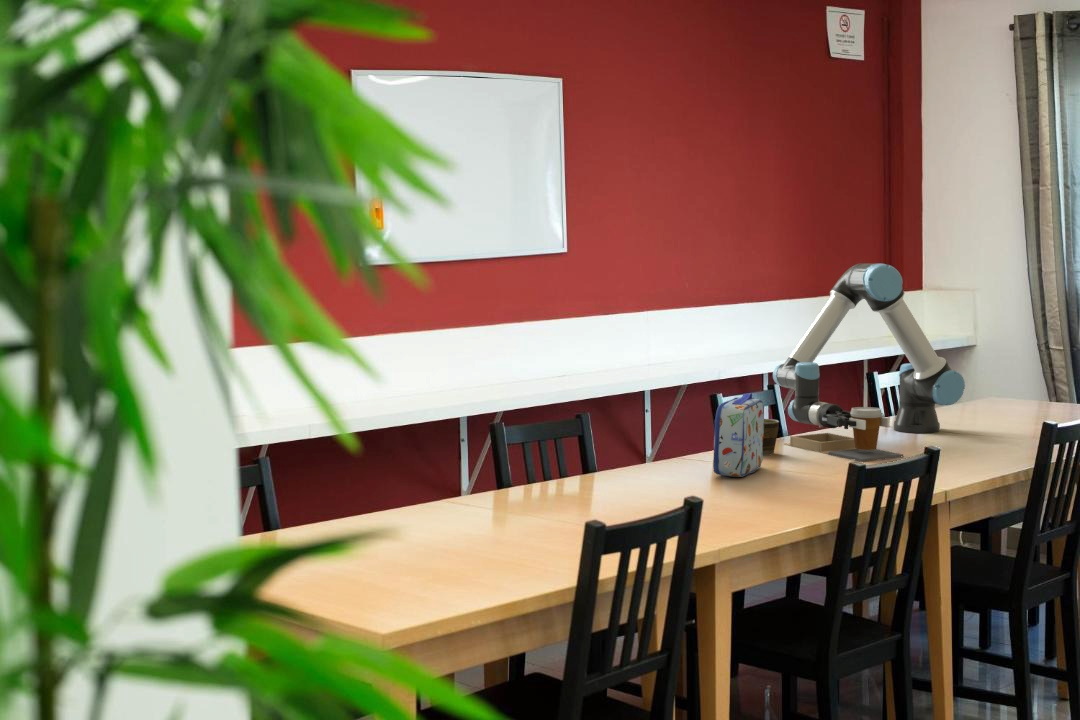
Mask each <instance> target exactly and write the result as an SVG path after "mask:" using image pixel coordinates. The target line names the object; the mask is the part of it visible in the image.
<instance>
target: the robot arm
mask: <svg viewBox="0 0 1080 720" xmlns="http://www.w3.org/2000/svg"><path fill="white" fill-rule="evenodd" d="M903 282H904V281H903V277H902V275H901V273H900V272H899V270H897V269H896V267H894V266H892V265H890V264H885V263H880V262H879V263H866V262H865V263H864V262H863V263H861V262H860V263H857V264H855V265H853V266H851V267H849V268H848V269H847V270H846V271H845V272H844V273H843V274H842V275H841V276H840V277H839V278H838V280H837V281H836V283H835V284H834V285H833V287H832V288H831V290H830V291H829V298H828V299H827V301H826V302H825V304H824V305H823V307H822V308H821V310H820V311H819V313H818V314H817V316H816V317H815V318H814V320H813V321H812V322H811V324H810V326H809V327H808V329H807V330H806V331H805V333H804V335H803V336H802V337H801V338H800V340H799V341H798V343H797V344H796V346H795V347H794V349H793V350H792V352H791V353H790V354H789V356H788V358H787V359H786V360H785V362H784V363H781V364H779V365H776V366H775V368H774V369H773V372H772V379H773V381H774V383H775V384H777V385H778V386H780V387H782V388H785V389H792V390H794V398H793V399H792V400H791V401H790V402H789V405H788V407H787V414H788V416H789V417H790V418H791V419H792V420H793V421H794V422H798V423H801V424H806V425H813V426H818V427H819V429H821V428H823V427H824V428H829V429H836V428H842V427H843V429H844V430H848V429H849V428H852V429H853V428H857V429H862V430H866V420H860V419H854V418H852V416H851V414H850V412H851V411H848V410H843V409H842V407H841V405H838V404H834V403H828V402H824V401H820V395H819V394H820V376H821V375H820V365H819V364H818V363H816V362H814V361H815V360H816V359H817V357H818V356H819V354H820V353H821V351H822V350H823V348H824V347H825V346H826V345H827V343H828V341H829V340H830V338H831V337H832V336H833V334H834V333H835V332H836V330H837V328H838V327H839V326H840V324H841V323H842V322H843V319H844V318H845V317H846V316H847V314H848V313H849V311H850V310H852V309H855V308H857V307H856V306H857V305H858V304H859V302H861V301H862V300H865V301H866V303H867V305H868V306H869V308H870V310H871V311H872V312H874V313H878V314H879V315H880V316H881V318H882V320H883V322H885V325H886V326H887V328H888V329H889V331H890V333H891V334H892V336H893V337H894V339H895V340H896V342H897V344H898V345H899V347H900V348H901V350H902V352H903V353H904V355H905V357H906V358H907V360H908V361H909V363H902V364H901V365H900V368H899V392H898V393H899V397H898V398H899V403H898V410H897V414H896V418H895V420H894V421H893V430H894V431H896V432H904V433H914V434H925V433H926V434H928V433H931V434H932V433H937V432H939V431H941V424H940V421H939V419H938V418H939V417H938V414H937V411H936V405H938V406H952V405H954V404H956V403H957V402H959V400H961V398H962V397H963V395H964V390H965V388H966V382H965V378H964V377H963V374H961V373H960V372H958V371H957V370H953V369H952V368H951V366H950V364H949V363H948V362H947V359H945V357H942V356H938V355H937V353H936V351H935V350H934V348H933V346H932V345H931V343H930V342H929V339H928V338H927V336H926V335H925V333H924V332H923V329H922V328H921V327H920V325H919V323H918V321H917V320H916V318H915V316H914V315H913V313H912V312H911V310H910V308H909V307H908V305H907V304H906V302H905V300H904V296H905V291H904V289H903ZM890 420H891V419H890V417H885V416H881V420H880V427H883V428H890V422H891V421H890Z"/></svg>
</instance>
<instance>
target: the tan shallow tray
mask: <svg viewBox="0 0 1080 720" xmlns="http://www.w3.org/2000/svg"><path fill="white" fill-rule="evenodd" d="M789 441H790V442H785V443H784V444H783V445H785V446H789V447H794V448H799V449H803V450H806V451H807V450H808V451H812V452H818V453H822V454H825V455H826V454H827V455H828V452H832V451H841V450H851V449H856V448H855V443H854V437H850V436H846V435H841V434H835V433H831V432H823V433H822V432H821V433H812V434H802V435H800V434H799V435H792V436H791V435H790V438H789Z"/></svg>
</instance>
